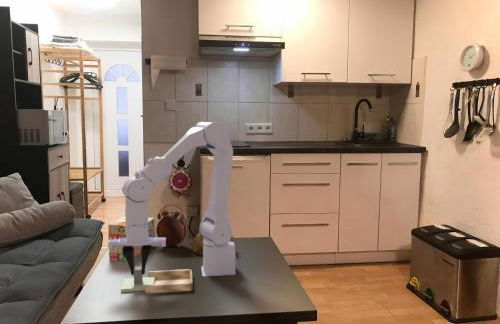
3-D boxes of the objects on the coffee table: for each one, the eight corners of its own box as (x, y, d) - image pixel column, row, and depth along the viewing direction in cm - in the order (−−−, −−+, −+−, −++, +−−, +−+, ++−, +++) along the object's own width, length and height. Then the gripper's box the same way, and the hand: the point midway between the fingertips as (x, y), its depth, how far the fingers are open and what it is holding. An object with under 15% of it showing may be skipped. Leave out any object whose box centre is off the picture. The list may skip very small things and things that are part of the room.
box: (191, 277, 114) (191, 269, 114) (192, 292, 104) (192, 283, 104) (148, 280, 112) (148, 271, 112) (145, 295, 102) (144, 286, 102)
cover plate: (154, 279, 111) (154, 262, 110) (152, 290, 104) (152, 272, 104) (124, 281, 110) (124, 264, 109) (120, 292, 103) (120, 274, 102)
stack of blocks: (139, 241, 147) (138, 208, 146) (155, 242, 146) (155, 209, 145) (108, 261, 127) (107, 223, 125) (127, 263, 125) (126, 224, 124)
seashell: (235, 259, 133) (238, 229, 133) (191, 257, 130) (194, 227, 130) (229, 249, 144) (232, 221, 144) (188, 247, 141) (191, 219, 140)
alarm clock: (189, 245, 143) (189, 204, 141) (184, 249, 138) (183, 207, 136) (161, 243, 145) (160, 202, 144) (155, 247, 141) (154, 205, 139)
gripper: (165, 218, 110) (166, 266, 112) (110, 220, 108) (112, 269, 109) (164, 225, 103) (165, 276, 105) (105, 227, 101) (107, 279, 102)
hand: (138, 273), depth 107 cm, fingers closed on cover plate
